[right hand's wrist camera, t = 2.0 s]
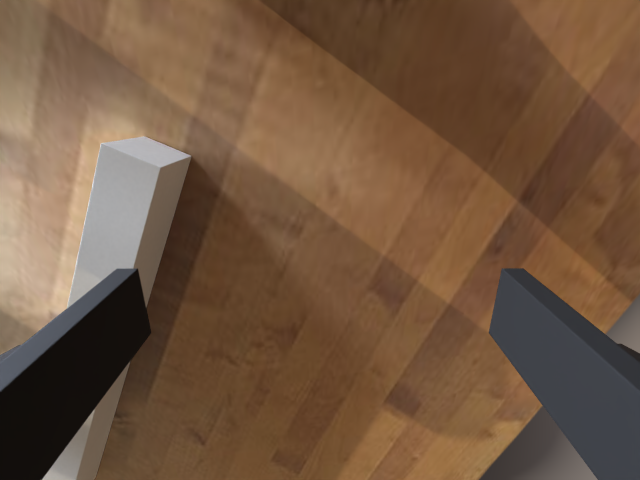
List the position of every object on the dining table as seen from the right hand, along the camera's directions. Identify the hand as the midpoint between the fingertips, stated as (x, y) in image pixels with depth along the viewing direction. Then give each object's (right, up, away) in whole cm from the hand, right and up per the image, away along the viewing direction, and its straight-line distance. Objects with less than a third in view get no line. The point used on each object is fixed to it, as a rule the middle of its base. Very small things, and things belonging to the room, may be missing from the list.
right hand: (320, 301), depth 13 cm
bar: (-26, -10, +32) cm, 42 cm away
